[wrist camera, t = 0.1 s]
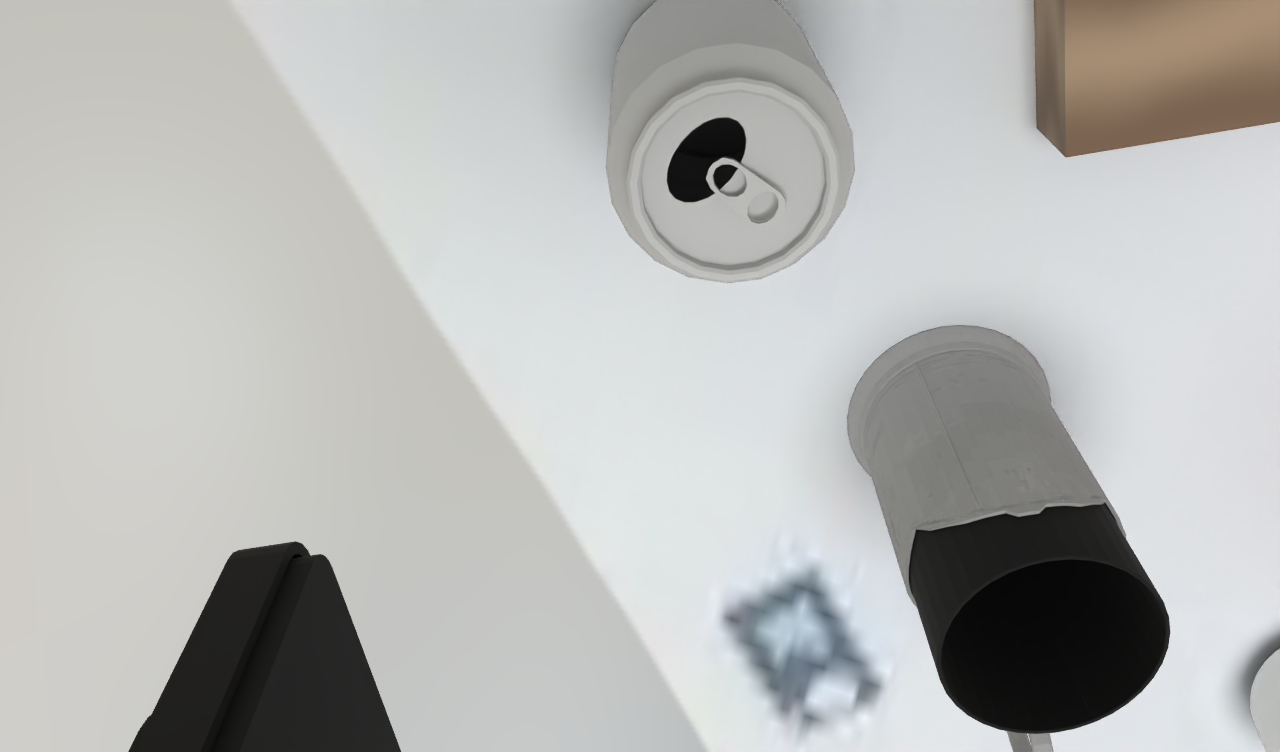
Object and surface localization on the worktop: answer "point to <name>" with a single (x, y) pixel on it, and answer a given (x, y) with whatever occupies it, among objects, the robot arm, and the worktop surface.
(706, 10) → the can
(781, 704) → the worktop surface
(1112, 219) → the worktop surface
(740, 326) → the worktop surface
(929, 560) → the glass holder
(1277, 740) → the teacup
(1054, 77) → the walnut base block
